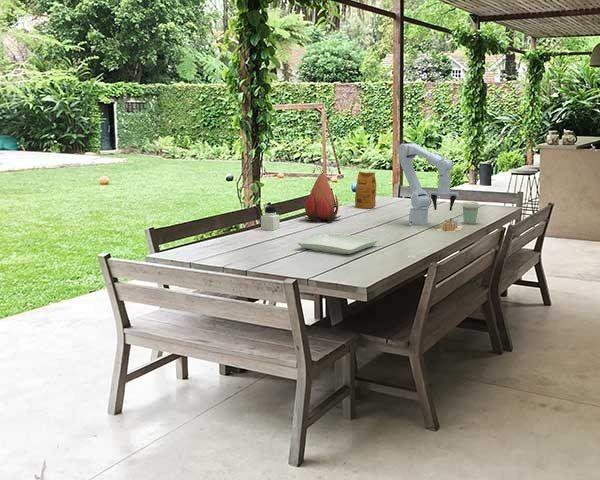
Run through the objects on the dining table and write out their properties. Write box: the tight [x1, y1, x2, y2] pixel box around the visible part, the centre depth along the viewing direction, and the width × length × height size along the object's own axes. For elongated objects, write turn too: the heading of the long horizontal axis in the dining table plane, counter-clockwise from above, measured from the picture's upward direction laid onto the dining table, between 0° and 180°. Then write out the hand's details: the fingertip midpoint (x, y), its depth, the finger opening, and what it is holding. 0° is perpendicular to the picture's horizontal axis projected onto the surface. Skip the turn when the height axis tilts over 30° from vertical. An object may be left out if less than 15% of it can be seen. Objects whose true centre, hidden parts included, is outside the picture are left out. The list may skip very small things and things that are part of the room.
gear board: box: [435, 224, 464, 233], centre depth 354 cm, size 11×18×4 cm, turn 159°
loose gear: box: [442, 222, 455, 232], centre depth 349 cm, size 6×6×4 cm
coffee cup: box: [462, 201, 480, 226], centre depth 367 cm, size 9×8×12 cm
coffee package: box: [354, 171, 377, 210], centre depth 426 cm, size 10×12×22 cm
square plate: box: [296, 233, 379, 255], centre depth 311 cm, size 27×27×4 cm
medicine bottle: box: [260, 204, 281, 232], centre depth 354 cm, size 7×7×12 cm
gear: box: [444, 217, 458, 228], centre depth 356 cm, size 6×6×4 cm
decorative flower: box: [303, 164, 342, 223], centre depth 380 cm, size 22×23×30 cm
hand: (443, 210), depth 354 cm, fingers open, 7 cm apart
